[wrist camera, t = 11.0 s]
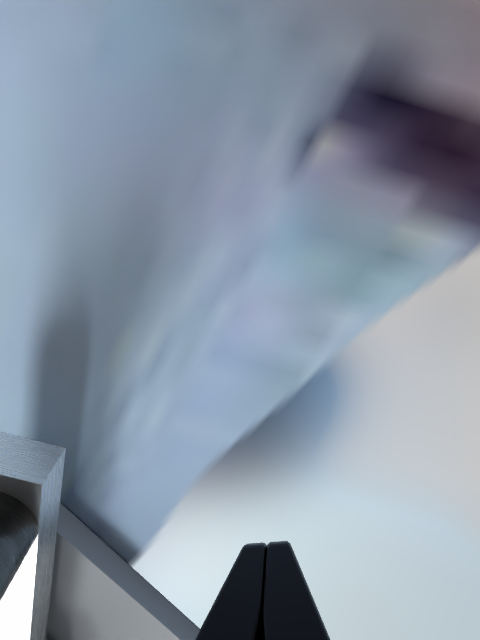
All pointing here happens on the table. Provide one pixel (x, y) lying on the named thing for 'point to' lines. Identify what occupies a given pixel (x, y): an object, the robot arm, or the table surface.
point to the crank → (27, 533)
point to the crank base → (105, 593)
